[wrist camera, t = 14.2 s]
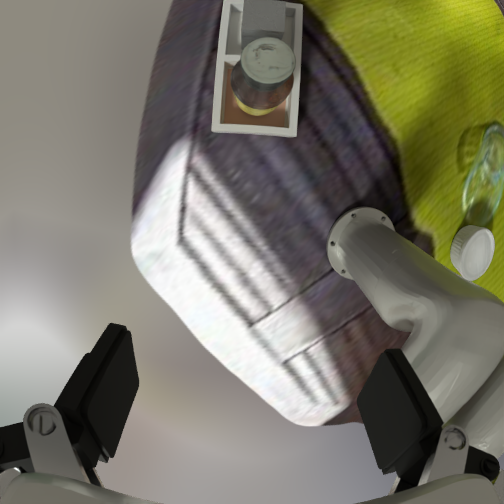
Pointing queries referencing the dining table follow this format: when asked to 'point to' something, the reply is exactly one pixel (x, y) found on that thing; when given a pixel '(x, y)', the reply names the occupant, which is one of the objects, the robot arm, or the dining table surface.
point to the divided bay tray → (229, 53)
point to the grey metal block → (262, 20)
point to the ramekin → (472, 251)
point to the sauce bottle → (263, 75)
